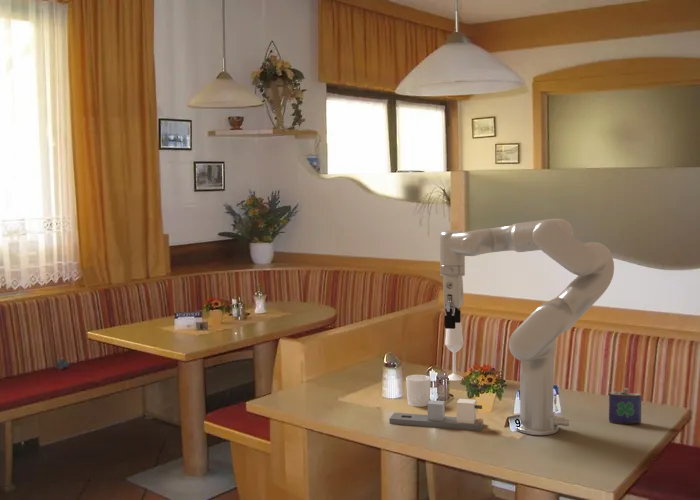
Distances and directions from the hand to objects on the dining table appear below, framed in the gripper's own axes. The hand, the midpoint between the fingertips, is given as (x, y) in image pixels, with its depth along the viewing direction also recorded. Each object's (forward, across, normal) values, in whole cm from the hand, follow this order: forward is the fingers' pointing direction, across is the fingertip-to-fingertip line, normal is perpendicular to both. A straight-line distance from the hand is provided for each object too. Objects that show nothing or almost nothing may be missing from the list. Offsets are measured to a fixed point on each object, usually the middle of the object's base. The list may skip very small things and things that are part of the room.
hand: (452, 325), depth 245 cm
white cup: (+28, +4, +12) cm, 31 cm away
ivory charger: (+27, -15, -6) cm, 31 cm away
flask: (+29, +4, -51) cm, 59 cm away
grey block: (+27, -15, +2) cm, 31 cm away
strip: (+28, -15, +2) cm, 32 cm away
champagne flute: (+28, +43, +7) cm, 52 cm away
